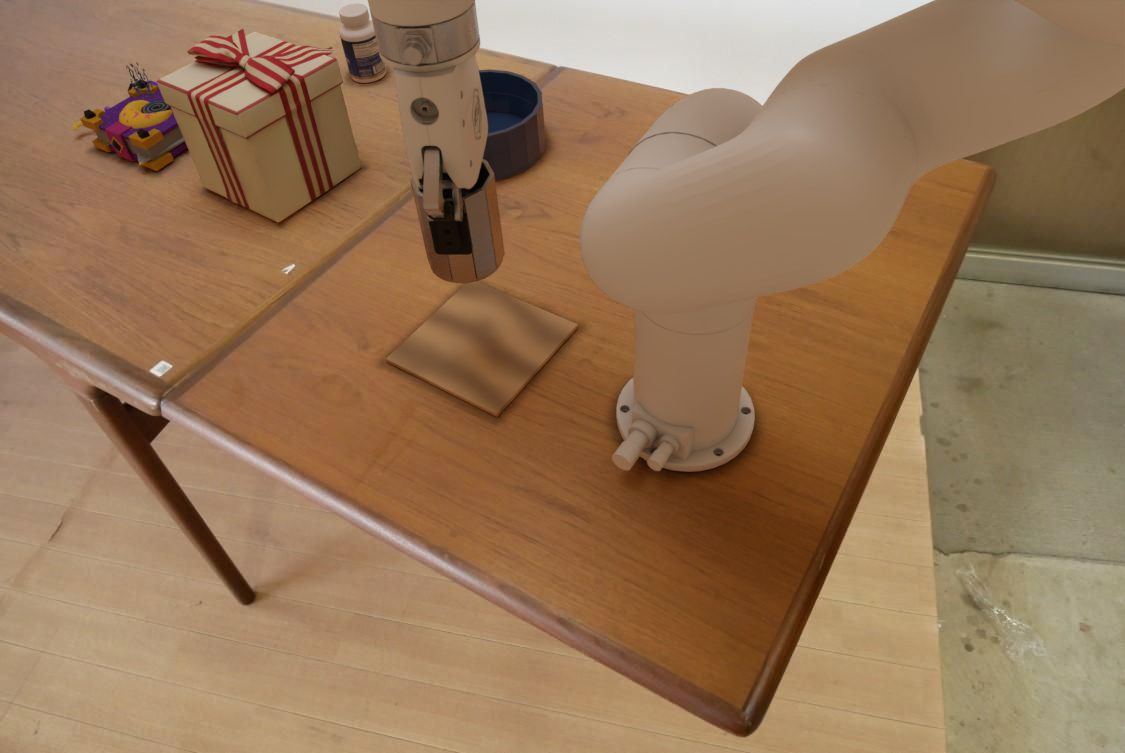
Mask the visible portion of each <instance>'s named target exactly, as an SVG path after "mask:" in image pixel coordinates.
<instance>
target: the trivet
mask: <svg viewBox="0 0 1125 753" xmlns="http://www.w3.org/2000/svg"><path fill="white" fill-rule="evenodd" d="M578 328H579V325H578V323H576V322H573V321H571V320H569V319H567V318H565V317H562V316H559V315H557V314H554V313H553V312H549V310H548V311H547V310H545V309H543V308H541V307H538V306H536V305H533V304H531V303H528V302H527V301H524V300H522V299H520V298H517V297H515V296H512V295H510V294H508V293H506V292H504V291H501V290H498V289H495V288H493V287H491V286H490V285H489V286H488V285H486V284H484V283H483V282H480V281H476V282H472V283H464V284H463V285H462V286H461V287H460V288H459V289H458V290H457V291H456V292H454V294H453V295H452V296H451V297H449V299H447V301H445V302H444V303H443V304H442V305H441V306H440V307H439V308H438V309H437V310H436V311H435V312H434V313H432V314H431V316H429V318H427V319H426V320H425V321H424V322H423V323H422V324H421V325H420V326H419V327H418V328H416V329H415V330H414V331H413V333H411V334H410V335H409V336H408V337H407V338H406V339H405V340H404V341H403V342H401V344H400V345H399V346H397V348H395V349H394V350H393V351H392V352H391V353H390V354H389V355H388V356H387V357H386V358H385V361H386V363H388V364H389V365H391V366H393V367H395V368H398V369H400V370H402V371H404V372H406V373H408V374H410V375H412V376H414V377H416V378H418V379H420V380H422V381H424V382H426V383H428V384H430V385H432V386H433V387H436V388H438V389H439V390H442V391H444V392H446V393H448V394H450V395H452V396H454V397H455V398H458V399H459V400H462V401H463V402H466V403H468V404H470V405H472V406H473V407H475V408H478V409H480V410H482V411H484V412H486V413H487V414H489V415H492V416H494V417H495V418H498V417H499V416H500V415H501V414H502V413H503V412H504V410H505V409H506V408H507V407H508V406H509V405H510V404H511V402H512V401H513V400H514V399H515V398H516V397H517V396H518V395H519V394H520V393H521V392H522V391H523V389H525V387H526V386H527V385H528V384H529V382H531V381H532V379H534V377H535V376H536V375H537V374H538V372H539V371H541V369H542V368H544V366H545V365H546V364H547V362H548V361H550V359H551V358H552V357H553V356H554V355H555V354H556V353H557V351H559V349H560V348H561V347H562V346H563V345H564V344H565V343H566V341H567V340H568V339H569V338H570V337H571V336H572V335H573V334H574V332H576V330H577V329H578Z"/></svg>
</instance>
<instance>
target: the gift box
mask: <svg viewBox="0 0 1125 753" xmlns="http://www.w3.org/2000/svg"><path fill="white" fill-rule="evenodd" d="M333 52H334V48H333V46H329V47H327V48H322V47H321V48H320V47H316V46H311V45H302V46H301V45H297V44H294V43H292V42H289V41H285V40H283V39H279V38H276V37H273V36H270V35H267V34H264V33H262V32H258V31H252V32H250V33H248V34H245V29H244V28H240V29H239V30H238V31H236V32H235V33H233V34H231V35H229V36H227V37H226V36H221V35H216V34H215V35H208V36H207V37H205V38H204V39H203V40H201V41H200V42H198V43H197V44H195V45H194V46H192V47H191V48H189V49H188V50H187V51H186V53H187V54H188V55H191V56H194V59H195V60H194V61H192V62H190V63H188V64H186V65H184V66H182V67H180V68H178V69H176V70H175V71H172V72H171V73H168V74H167V75H164V76H163V77H160V78H158V79H157V80H156V82H157V84H158V87H159V89H160V91H161V94H162V96H163V99H164V101H165V103H166V105H168V106H170V107H171V109H172V111H173V114H174V116H175V119H176V121H177V123H178V126H179V128H180V130H181V133H182V135H183V138H184V140H185V142H186V145H187V147H188V148H187V149H188V152H189V154H190V156H191V159H192V161H193V163H194V166H195V168H196V171H197V173H198V176H199V178H200V180H201V183H202V185H203V188H204V189H206V190H208V191H210V192H211V193H214V194H216V195H219V196H221V197H223V198H225V199H226V200H228V202H231V203H234V204H237V205H240V206H242V207H243V208H245V209H247V210H250V211H252V212H253V213H257V214H259V215H261V216H262V217H265V218H266V219H269V220H271V221H273V222H275V223H281V222H282V221H284V220H285V219H287V218H288V217H290V216H292V215H293V214H295V213H296V212H297V211H299V210H301V209H302V208H304V207H305V206H307V205H308V204H310V203H311V202H313V201H314V200H316V199H317V198H318V197H321V195H324V194H325V193H326V192H328V191H330V190H331V189H332V188H333V187H336V185H338V184H339V183H341V182H342V181H344V180H345V179H347V178H348V177H350V176H351V175H353V174H354V173H356V172H357V171H358V170H360V169H361V168H362V164H361V159H360V156H359V152H358V148H357V144H356V141H355V136H354V133H353V128H352V125H351V121H350V117H349V113H348V110H347V105H346V101H345V96H344V93H343V89H342V86H341V85H343V84H344V80H343V76H342V71H341V69H340V64H339V61H338V59H337V58H336V57H334V56H330V55H332V54H333Z"/></svg>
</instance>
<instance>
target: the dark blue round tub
mask: <svg viewBox="0 0 1125 753" xmlns="http://www.w3.org/2000/svg"><path fill="white" fill-rule="evenodd" d="M479 75H480V80H481V86H482V92H483V97H484V103H485V109H486V114H487V121H488V134H487V140H486V145H485V150H484V154H483V159H484V160H486V161H487V162H488V163H489V165H490V167H491V169H492V171H493V173H494V177H495V182H498V181H503V180H506V179H509V178H512V177H515V176H517V175H520V174H522V173H523V172H526V171H528V169H530V168H532V167H533V166H535V164H536V163H537V162H538V161H539V160H540V159H541V158H542V156H543V155H544V152H545V150H546V146H547V145H546V143H547V139H546V129H545V128H546V126H545V125H546V124H545V113H544V100H543V91H542V90H541V88H539V86H538V85H537V83H536V82H535V81H533V80H531V79H529V78H528V77H526V76H525V75H523V74H519V73H517V72H512V71H509V70H499V69H489V68H488V69H479Z"/></svg>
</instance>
